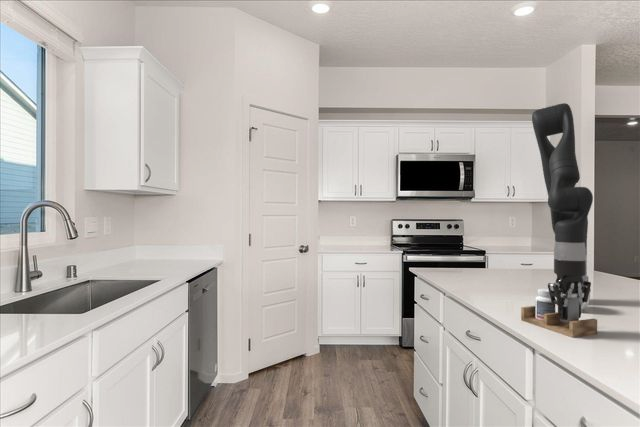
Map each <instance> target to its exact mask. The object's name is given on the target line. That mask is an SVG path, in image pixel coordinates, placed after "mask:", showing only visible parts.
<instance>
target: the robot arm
mask: <svg viewBox="0 0 640 427" xmlns="http://www.w3.org/2000/svg"><path fill="white" fill-rule="evenodd" d="M531 121H532V127H533V131H534V135H535V139H536V142H537V145H538V146H537V147H538V149H539V153H540V159H541V160H540V161H541V165H542V166H541V168H542V172H543V179H544V183H545V188H546V190H547V191H546V192H547V196H548V197H547V198H548V199H547V205H548V207H549V210H550V218H551V227H552V231H553V233H554V246H553V247H554V248H553V272H554V274H555V275H556V279H555V282H553V283H551V282H549V283H547V289H548V290H549V294H550V298H551V302H552V303H554V304H555V305H557V312H558V317H559V319H562V320H567V307H566V306H567V304H568V300H569V299H570V298H571V294H577V297H579V319H580V318H581V316H582V311H581V305H582V304H583V303H584V302H587V300H588V296H589V291H590V289H591V287H592V283H591V281H589V276H588V274H587V273H588V272H587V271H588V270H587V269H588V267H587V266H588V265H587V264H588V263H587V262H588V260H587V258H588V257H587V255H588V253H587V252H588V249H587V248H588V247H587V246H588V228H589V220H588V216H589V213H590V210H591V208H592V205H593V201H594V200H593V199H594V196H593V193H592V191H591V190H590V188H588V187H586V186H577V183H579V181H580V178H581V176H580V175H581V174H580V170H579V165H578V161H577V156H576V137H575V124H574V123H575V122H574V116H573V111H572V108H571V105H569V104H568V103H565V102H564V103H557V104H555V105H551V106H550V105H549V106H547V107H543V108H539V109H536V110H534V111H533V113H532V115H531ZM558 134H562V135H561V138H560V139H559V141H558V143H557V145H556V146H554V145H553V144H552V142H551V140H549V138H548V137H549V136H554V135H558ZM562 293H563V294H566V295H562ZM582 293H584V297H582V296H583V294H582ZM555 297H556V299H557V300H556V299H555ZM562 297H563V298H564V300H563V302H562Z"/></svg>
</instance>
